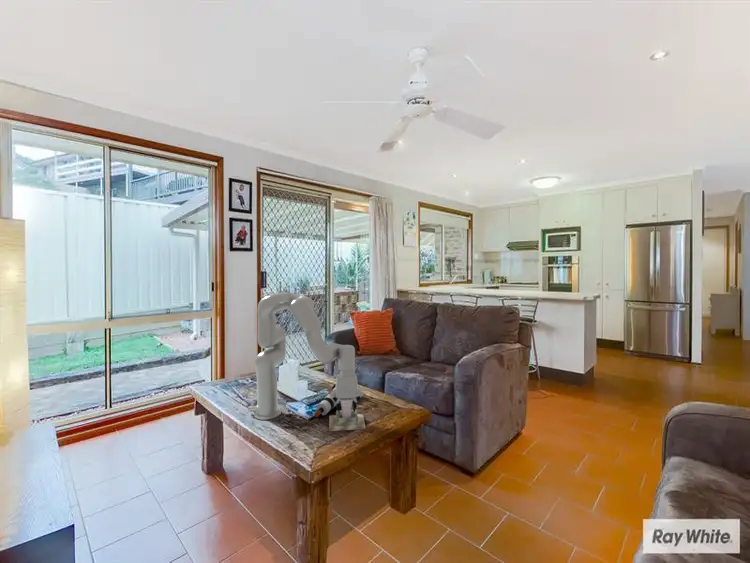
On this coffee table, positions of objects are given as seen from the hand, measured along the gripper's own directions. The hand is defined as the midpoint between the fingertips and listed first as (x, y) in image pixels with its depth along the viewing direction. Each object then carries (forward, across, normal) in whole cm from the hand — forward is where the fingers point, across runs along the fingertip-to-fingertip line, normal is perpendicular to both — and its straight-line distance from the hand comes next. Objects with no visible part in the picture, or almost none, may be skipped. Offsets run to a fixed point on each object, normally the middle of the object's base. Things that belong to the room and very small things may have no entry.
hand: (346, 410), depth 164 cm
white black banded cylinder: (+7, -6, +20) cm, 22 cm away
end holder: (+6, 0, 0) cm, 6 cm away
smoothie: (+4, 0, 0) cm, 4 cm away
